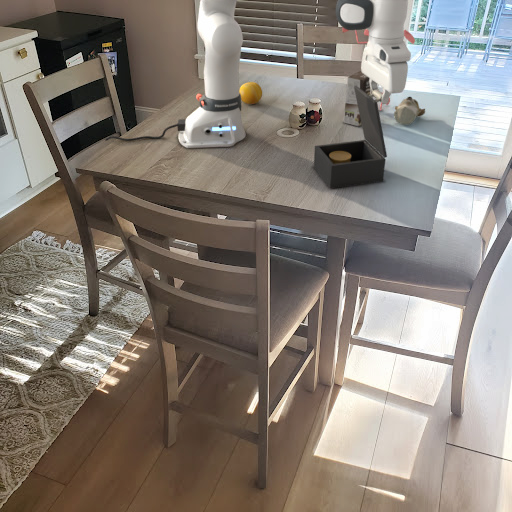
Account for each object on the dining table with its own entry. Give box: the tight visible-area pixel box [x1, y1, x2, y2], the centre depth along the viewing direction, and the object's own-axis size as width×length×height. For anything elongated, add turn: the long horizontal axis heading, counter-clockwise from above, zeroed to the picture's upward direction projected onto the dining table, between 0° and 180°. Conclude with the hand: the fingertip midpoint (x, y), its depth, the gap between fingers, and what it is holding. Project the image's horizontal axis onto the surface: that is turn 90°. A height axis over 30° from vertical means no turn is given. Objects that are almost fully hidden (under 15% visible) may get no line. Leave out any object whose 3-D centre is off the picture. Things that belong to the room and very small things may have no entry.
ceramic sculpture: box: [393, 96, 426, 126], centre depth 194 cm, size 11×9×15 cm
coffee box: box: [343, 70, 374, 127], centre depth 192 cm, size 9×6×16 cm
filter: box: [329, 151, 351, 164], centre depth 162 cm, size 6×6×4 cm
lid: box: [354, 86, 388, 159], centre depth 155 cm, size 17×14×5 cm
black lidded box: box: [313, 139, 387, 189], centre depth 161 cm, size 16×14×7 cm
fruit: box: [239, 81, 263, 105], centre depth 211 cm, size 9×8×8 cm
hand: (379, 99), depth 152 cm, fingers closed on lid, 5 cm apart
